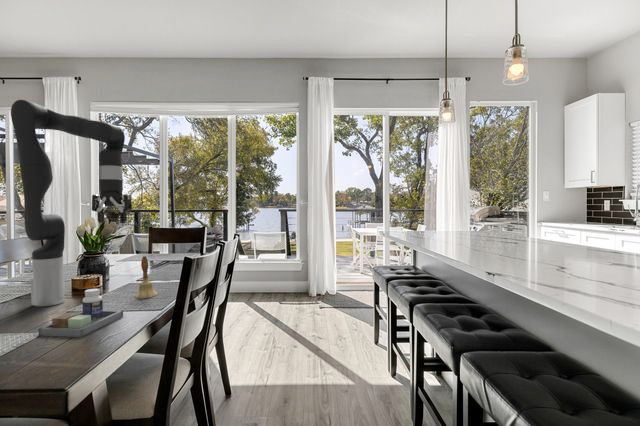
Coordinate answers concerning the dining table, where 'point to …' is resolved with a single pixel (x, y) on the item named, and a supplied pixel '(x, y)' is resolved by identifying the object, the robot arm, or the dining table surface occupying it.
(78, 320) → the sage block
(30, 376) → the dining table surface
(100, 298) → the pill bottle
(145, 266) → the hand bell
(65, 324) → the walnut block
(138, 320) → the dining table surface
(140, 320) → the dining table surface
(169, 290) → the dining table surface
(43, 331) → the parts tray
